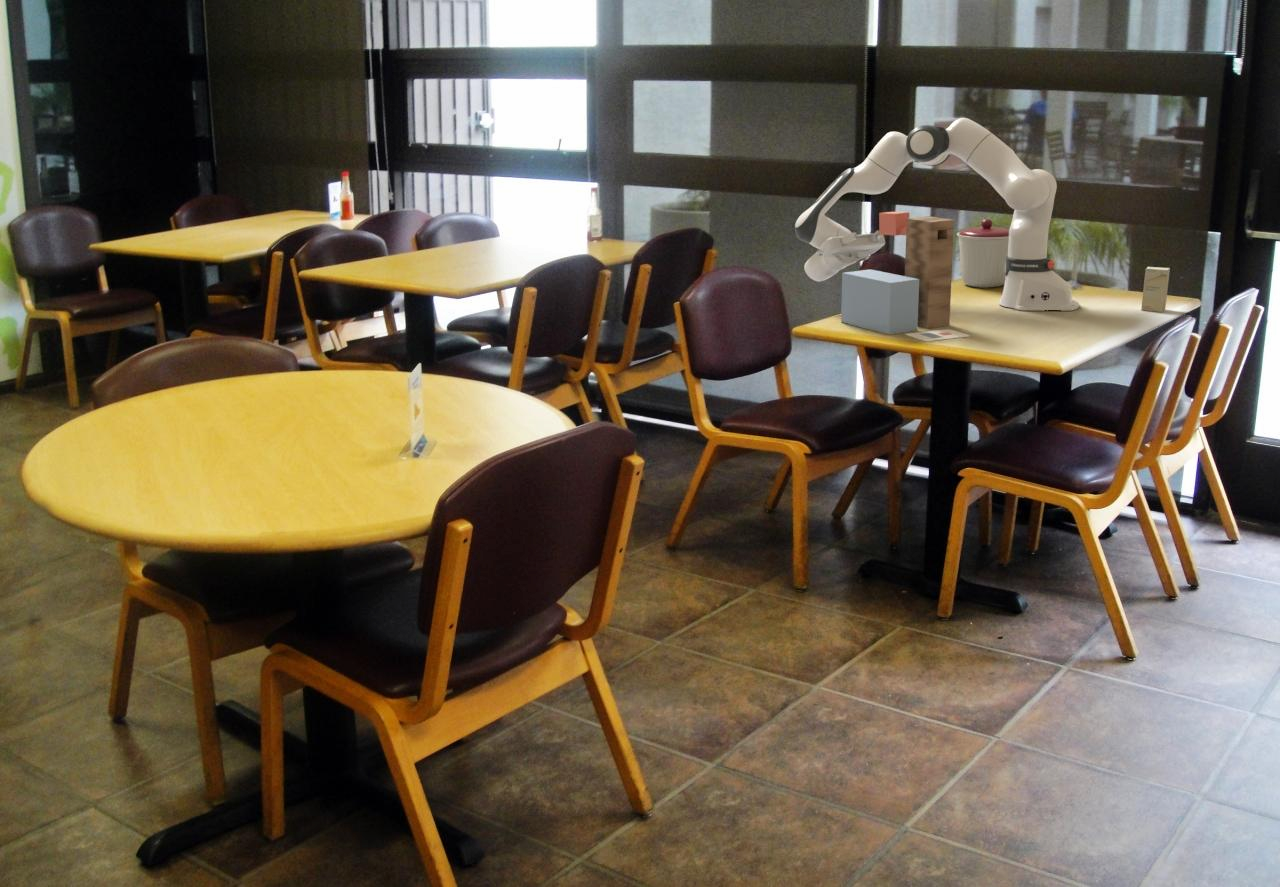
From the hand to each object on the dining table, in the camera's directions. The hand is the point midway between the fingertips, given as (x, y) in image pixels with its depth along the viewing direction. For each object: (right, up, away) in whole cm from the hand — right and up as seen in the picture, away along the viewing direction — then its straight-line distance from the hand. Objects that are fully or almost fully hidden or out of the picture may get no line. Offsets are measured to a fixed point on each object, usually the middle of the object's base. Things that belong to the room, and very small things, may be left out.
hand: (868, 233), depth 398 cm
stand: (+13, -28, -16) cm, 35 cm away
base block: (0, -28, -18) cm, 34 cm away
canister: (+44, -10, +41) cm, 61 cm away
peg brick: (+9, -3, -16) cm, 18 cm away
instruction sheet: (+13, -32, -31) cm, 47 cm away
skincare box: (+82, -23, -3) cm, 85 cm away
